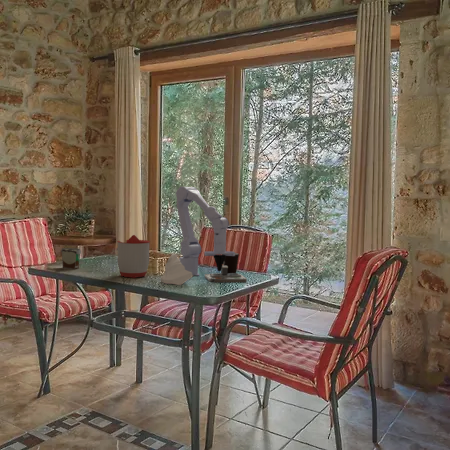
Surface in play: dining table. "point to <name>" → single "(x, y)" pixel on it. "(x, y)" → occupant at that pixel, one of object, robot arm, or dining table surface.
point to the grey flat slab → (224, 276)
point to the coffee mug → (231, 263)
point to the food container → (70, 257)
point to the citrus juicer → (133, 257)
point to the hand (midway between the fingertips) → (219, 270)
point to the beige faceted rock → (175, 272)
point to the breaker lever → (224, 270)
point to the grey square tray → (228, 280)
